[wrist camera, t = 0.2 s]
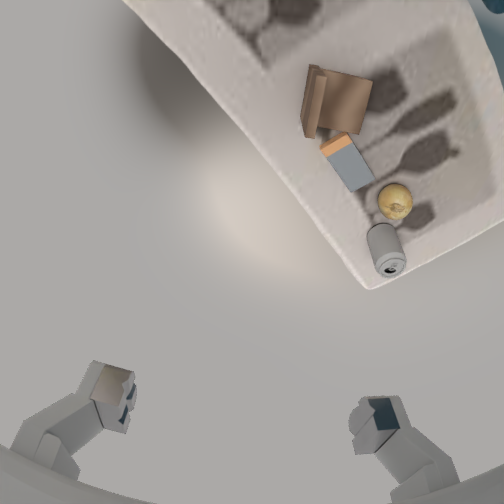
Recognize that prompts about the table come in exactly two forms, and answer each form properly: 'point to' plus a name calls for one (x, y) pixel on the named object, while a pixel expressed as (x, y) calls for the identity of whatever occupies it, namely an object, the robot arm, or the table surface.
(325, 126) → the tan bookend
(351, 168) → the two-tone tall prism
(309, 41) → the table surface
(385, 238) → the can
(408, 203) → the onion
